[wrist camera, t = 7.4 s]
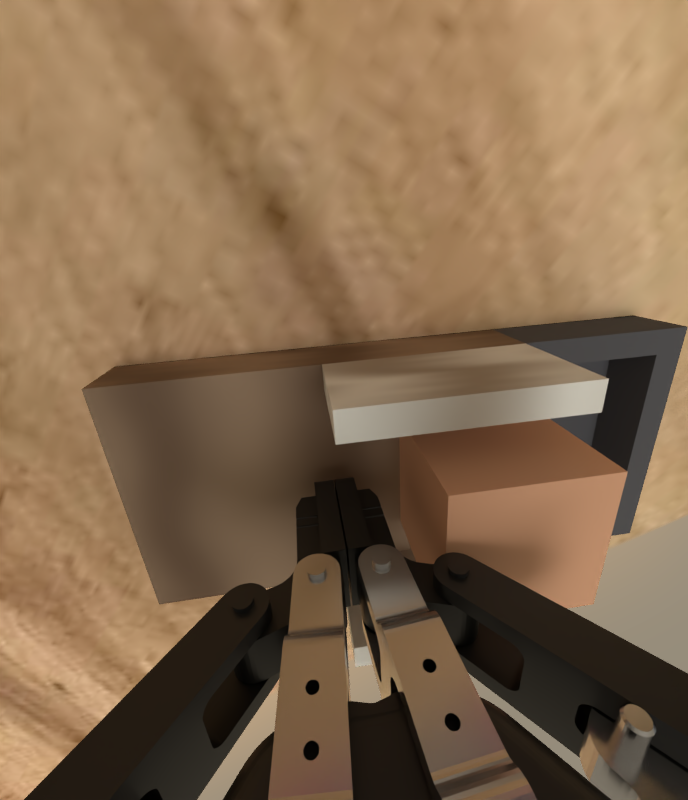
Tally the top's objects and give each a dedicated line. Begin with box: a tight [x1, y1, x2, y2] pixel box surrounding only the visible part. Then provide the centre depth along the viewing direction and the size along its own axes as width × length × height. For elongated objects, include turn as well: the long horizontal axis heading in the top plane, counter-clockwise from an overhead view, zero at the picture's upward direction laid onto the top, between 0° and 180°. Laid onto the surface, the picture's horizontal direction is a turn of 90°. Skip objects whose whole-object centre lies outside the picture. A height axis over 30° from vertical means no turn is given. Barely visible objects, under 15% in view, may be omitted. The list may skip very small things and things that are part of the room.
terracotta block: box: [399, 419, 628, 608], centre depth 13 cm, size 5×5×5 cm
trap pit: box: [493, 316, 687, 536], centre depth 17 cm, size 6×10×2 cm, turn 4°
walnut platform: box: [82, 330, 609, 667], centre depth 14 cm, size 16×10×6 cm, turn 94°
